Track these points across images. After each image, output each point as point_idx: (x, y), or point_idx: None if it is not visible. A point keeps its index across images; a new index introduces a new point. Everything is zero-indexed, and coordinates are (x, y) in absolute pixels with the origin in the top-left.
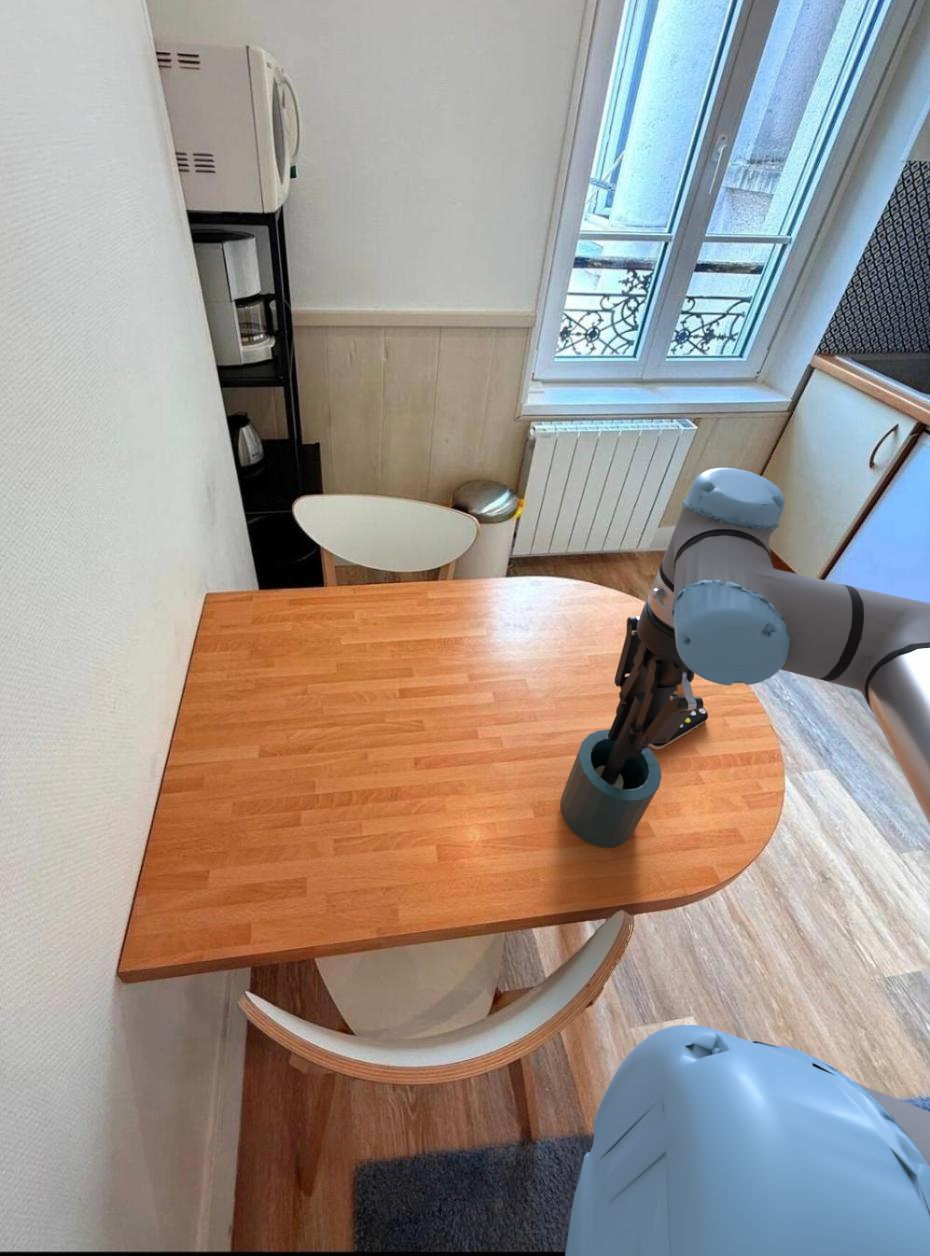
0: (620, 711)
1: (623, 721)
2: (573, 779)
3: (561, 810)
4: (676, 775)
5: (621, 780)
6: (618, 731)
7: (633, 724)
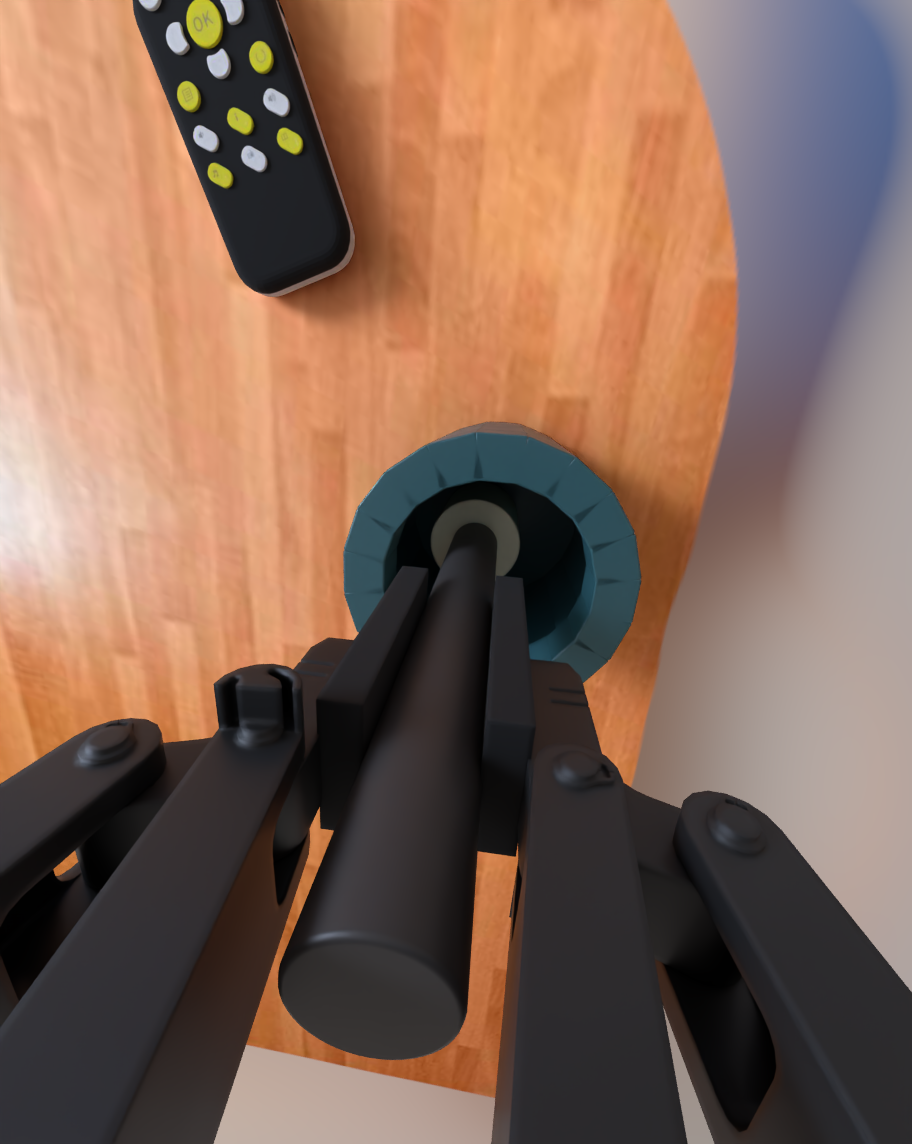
0: None
1: None
2: None
3: None
4: (442, 226)
5: (488, 508)
6: None
7: (490, 838)
